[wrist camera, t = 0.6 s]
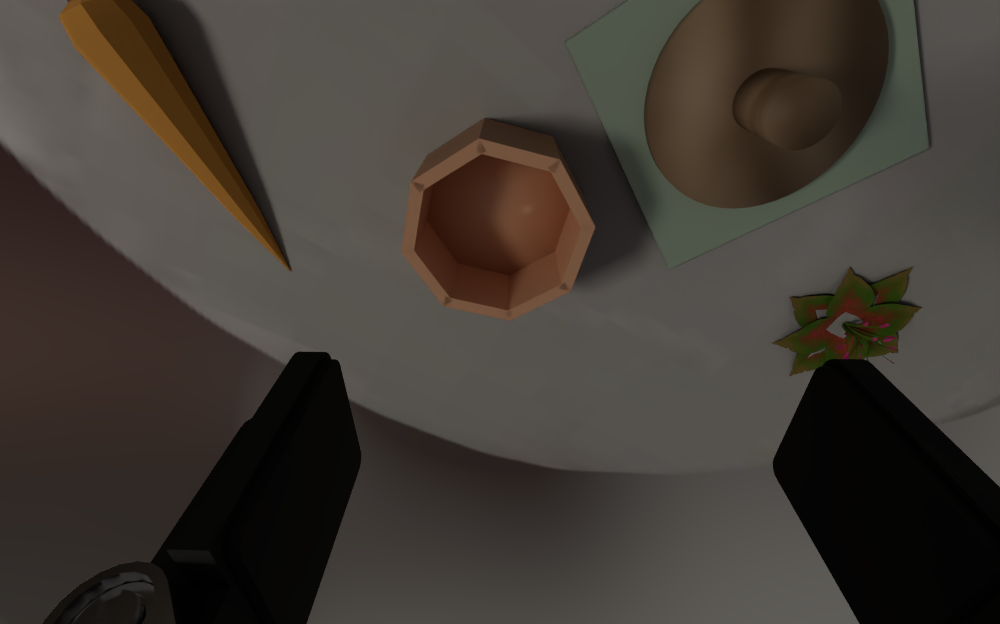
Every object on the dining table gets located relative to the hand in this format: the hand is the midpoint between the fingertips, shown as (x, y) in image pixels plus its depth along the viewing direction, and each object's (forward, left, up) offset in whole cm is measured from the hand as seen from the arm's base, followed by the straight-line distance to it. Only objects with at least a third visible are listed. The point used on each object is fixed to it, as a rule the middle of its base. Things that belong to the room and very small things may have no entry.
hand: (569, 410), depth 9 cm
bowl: (+5, +3, -26) cm, 27 cm away
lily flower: (-15, +27, -27) cm, 42 cm away
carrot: (+20, -10, -27) cm, 35 cm away
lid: (-13, +5, -26) cm, 30 cm away
